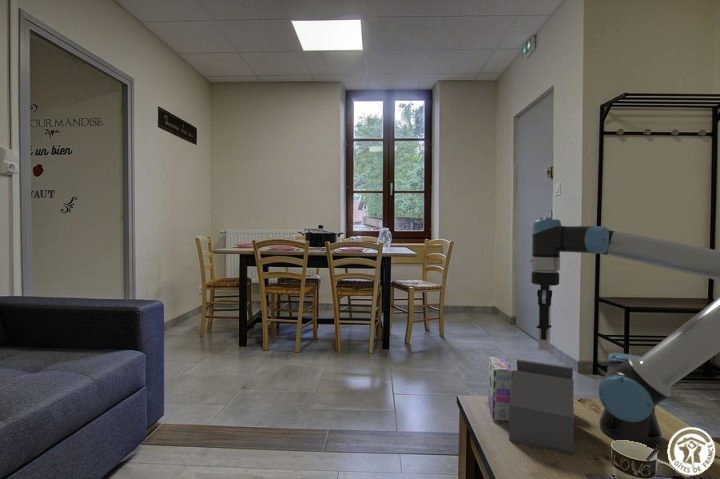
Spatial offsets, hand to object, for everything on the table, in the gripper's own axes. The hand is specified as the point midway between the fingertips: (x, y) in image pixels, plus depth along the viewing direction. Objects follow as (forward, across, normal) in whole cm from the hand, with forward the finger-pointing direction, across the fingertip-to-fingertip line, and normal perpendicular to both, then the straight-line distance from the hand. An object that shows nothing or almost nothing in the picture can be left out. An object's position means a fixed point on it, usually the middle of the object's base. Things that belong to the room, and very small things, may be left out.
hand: (543, 349), depth 119 cm
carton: (+24, +2, 0) cm, 24 cm away
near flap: (+10, +10, 0) cm, 14 cm away
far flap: (+10, -6, 0) cm, 11 cm away
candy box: (+24, -5, -13) cm, 28 cm away
